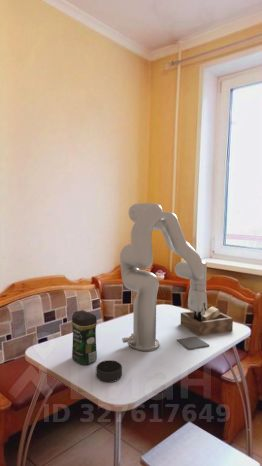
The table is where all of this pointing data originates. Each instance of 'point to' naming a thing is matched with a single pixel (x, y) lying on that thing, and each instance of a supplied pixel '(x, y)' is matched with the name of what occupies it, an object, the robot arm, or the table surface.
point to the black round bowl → (109, 371)
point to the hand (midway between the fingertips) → (197, 324)
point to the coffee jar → (84, 337)
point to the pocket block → (206, 324)
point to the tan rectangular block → (210, 314)
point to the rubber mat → (192, 342)
